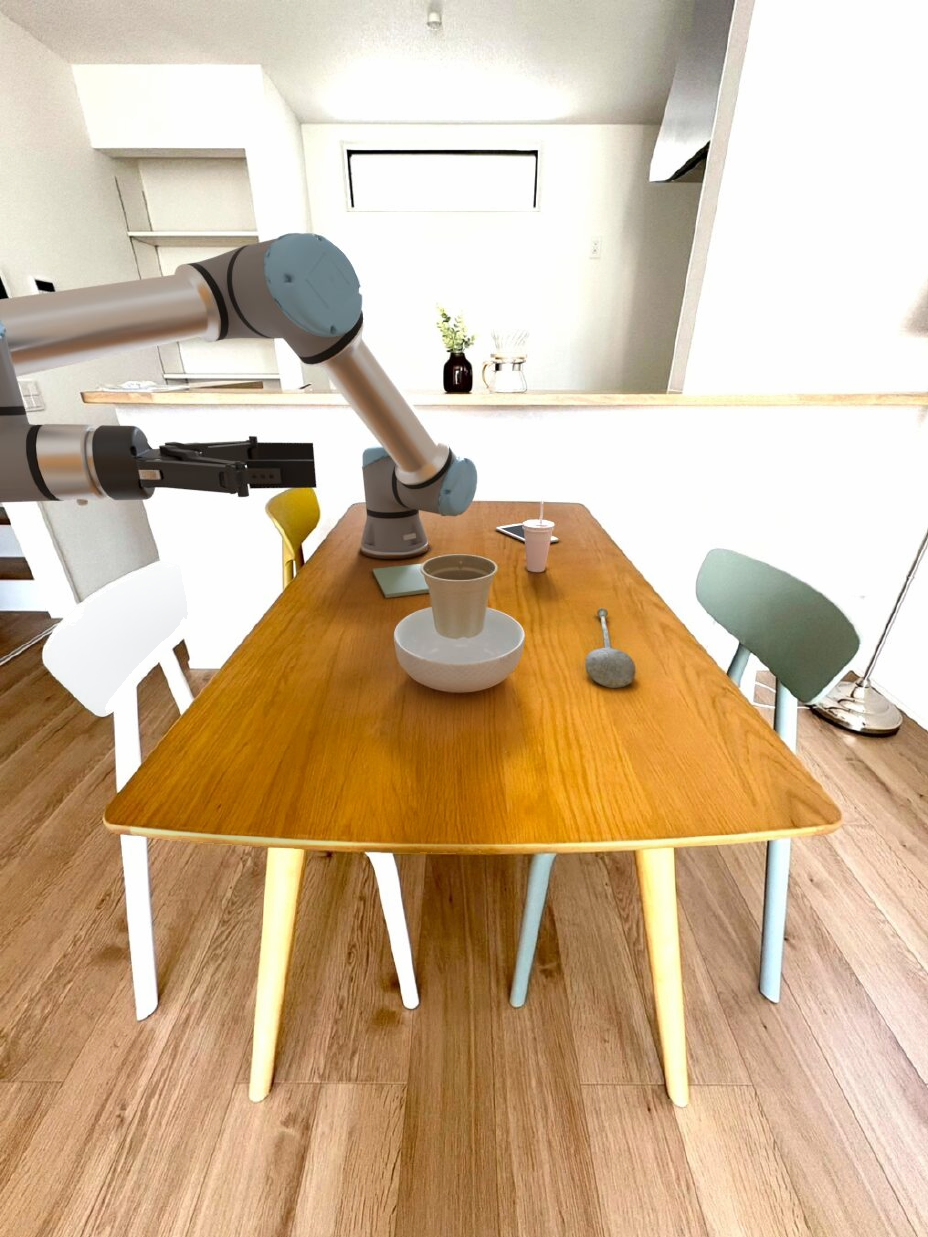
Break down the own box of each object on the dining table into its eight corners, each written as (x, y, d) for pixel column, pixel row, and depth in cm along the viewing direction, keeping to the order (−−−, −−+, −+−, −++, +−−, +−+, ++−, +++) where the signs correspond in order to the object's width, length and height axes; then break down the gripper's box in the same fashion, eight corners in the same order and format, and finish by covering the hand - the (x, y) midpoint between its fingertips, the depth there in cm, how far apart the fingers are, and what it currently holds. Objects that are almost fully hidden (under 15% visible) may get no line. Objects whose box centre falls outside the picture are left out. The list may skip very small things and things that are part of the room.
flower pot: (489, 650, 62) (491, 583, 59) (413, 642, 64) (410, 576, 60) (500, 617, 71) (502, 556, 67) (433, 611, 72) (431, 551, 69)
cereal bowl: (420, 726, 60) (418, 674, 57) (381, 660, 74) (378, 615, 71) (546, 694, 67) (550, 645, 64) (489, 638, 80) (490, 596, 77)
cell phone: (533, 546, 122) (533, 543, 122) (495, 529, 134) (495, 527, 134) (559, 541, 125) (559, 538, 125) (520, 525, 138) (520, 523, 138)
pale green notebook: (373, 572, 106) (372, 568, 106) (439, 565, 110) (438, 561, 110) (385, 598, 94) (385, 594, 94) (459, 589, 98) (459, 585, 98)
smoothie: (537, 576, 104) (541, 507, 98) (513, 568, 109) (516, 501, 102) (557, 569, 108) (563, 502, 102) (534, 561, 112) (538, 496, 106)
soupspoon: (583, 689, 69) (634, 696, 68) (587, 667, 67) (640, 675, 66) (582, 614, 88) (622, 619, 87) (585, 596, 86) (626, 601, 85)
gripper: (144, 477, 67) (315, 476, 72) (66, 531, 45) (319, 523, 51) (130, 415, 64) (311, 418, 69) (39, 440, 42) (312, 442, 47)
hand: (315, 463), depth 60 cm, fingers open, 13 cm apart
